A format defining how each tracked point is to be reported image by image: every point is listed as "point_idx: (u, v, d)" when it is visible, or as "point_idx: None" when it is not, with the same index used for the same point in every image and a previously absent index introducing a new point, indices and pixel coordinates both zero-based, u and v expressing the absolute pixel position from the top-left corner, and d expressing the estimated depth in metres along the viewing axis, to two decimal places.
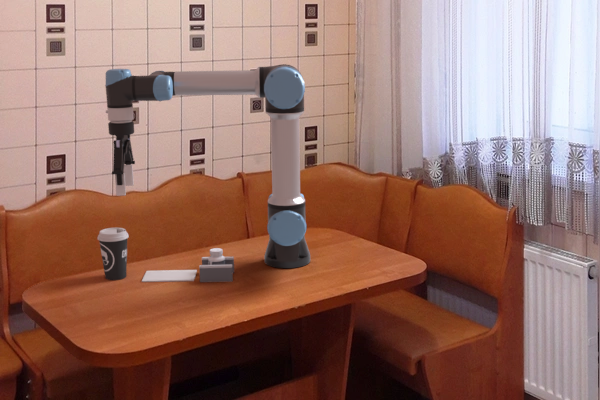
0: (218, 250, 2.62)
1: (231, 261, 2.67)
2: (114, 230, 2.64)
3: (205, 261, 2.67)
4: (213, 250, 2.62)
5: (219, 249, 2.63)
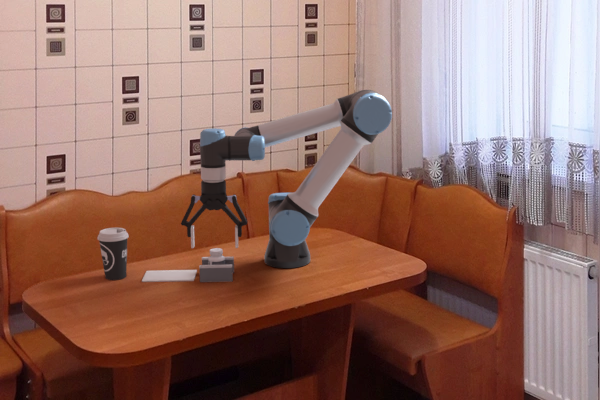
0: (218, 250, 2.62)
1: (231, 261, 2.67)
2: (114, 230, 2.64)
3: (205, 261, 2.67)
4: (213, 250, 2.62)
5: (219, 249, 2.63)
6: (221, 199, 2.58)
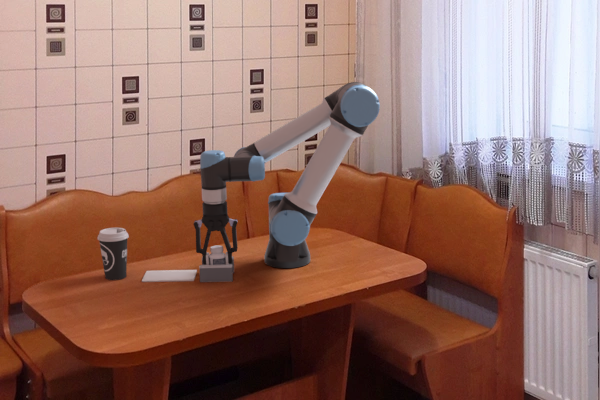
0: (219, 247, 2.62)
1: None
2: (114, 230, 2.64)
3: None
4: (214, 247, 2.62)
5: (220, 246, 2.63)
6: (223, 219, 2.59)
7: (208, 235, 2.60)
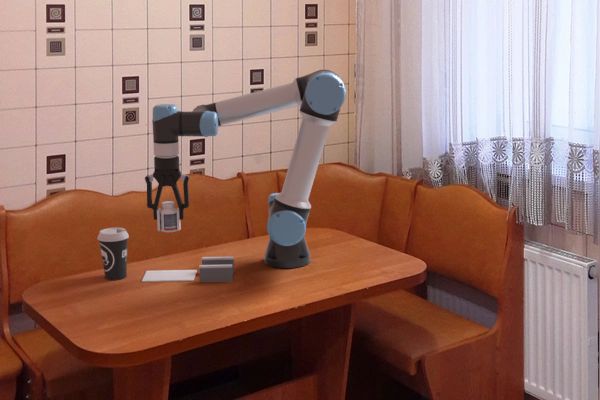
0: (170, 203, 2.59)
1: (231, 261, 2.67)
2: (114, 230, 2.64)
3: (205, 261, 2.67)
4: (165, 203, 2.59)
5: (171, 202, 2.60)
6: (174, 174, 2.57)
7: (159, 190, 2.58)
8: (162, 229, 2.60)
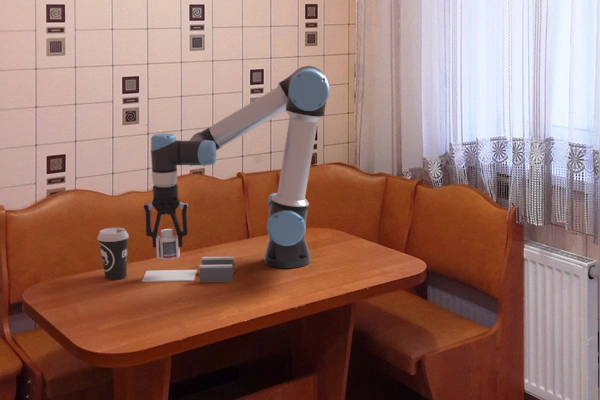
0: (169, 231, 2.62)
1: (231, 261, 2.67)
2: (114, 230, 2.64)
3: (205, 261, 2.67)
4: (164, 230, 2.62)
5: (170, 230, 2.63)
6: (173, 202, 2.59)
7: (158, 218, 2.60)
8: (161, 257, 2.62)
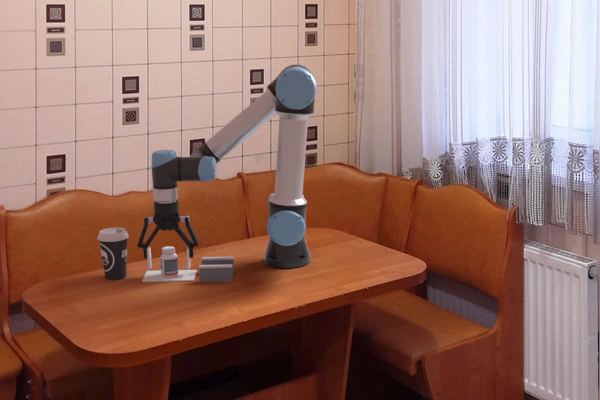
0: (170, 248, 2.63)
1: (231, 261, 2.67)
2: (114, 230, 2.64)
3: (205, 261, 2.67)
4: (165, 248, 2.63)
5: (171, 247, 2.64)
6: (174, 219, 2.60)
7: (155, 232, 2.61)
8: (163, 274, 2.64)
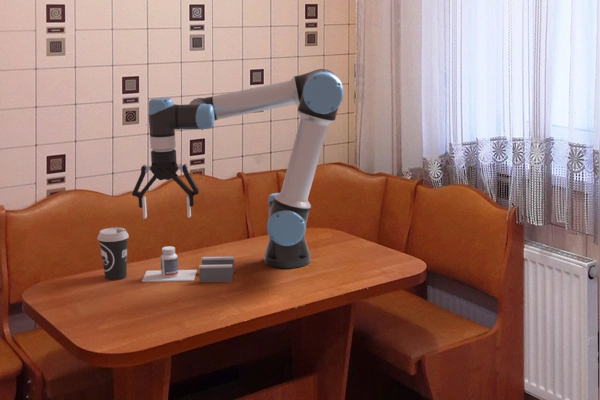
0: (170, 248, 2.63)
1: (231, 261, 2.67)
2: (114, 230, 2.64)
3: (205, 261, 2.67)
4: (165, 248, 2.63)
5: (171, 247, 2.64)
6: (171, 169, 2.57)
7: (151, 181, 2.57)
8: (163, 274, 2.64)
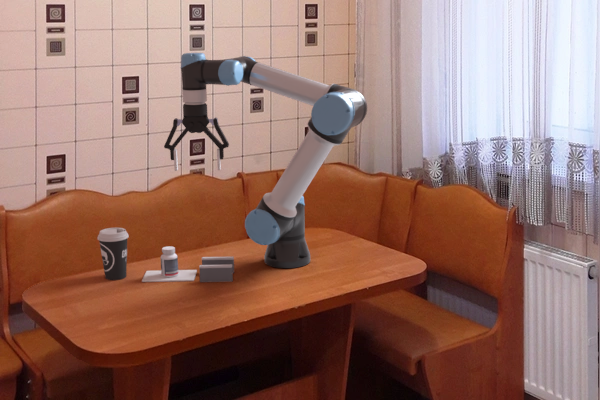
0: (170, 248, 2.63)
1: (231, 261, 2.67)
2: (114, 230, 2.64)
3: (205, 261, 2.67)
4: (165, 248, 2.63)
5: (171, 247, 2.64)
6: (203, 122, 2.65)
7: (183, 134, 2.65)
8: (163, 274, 2.64)
